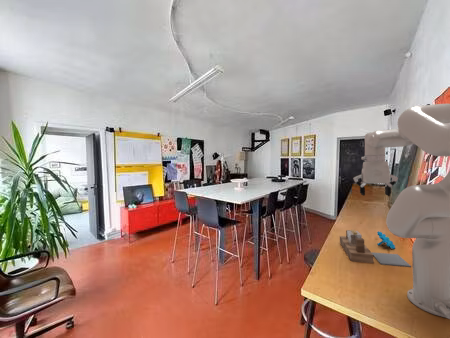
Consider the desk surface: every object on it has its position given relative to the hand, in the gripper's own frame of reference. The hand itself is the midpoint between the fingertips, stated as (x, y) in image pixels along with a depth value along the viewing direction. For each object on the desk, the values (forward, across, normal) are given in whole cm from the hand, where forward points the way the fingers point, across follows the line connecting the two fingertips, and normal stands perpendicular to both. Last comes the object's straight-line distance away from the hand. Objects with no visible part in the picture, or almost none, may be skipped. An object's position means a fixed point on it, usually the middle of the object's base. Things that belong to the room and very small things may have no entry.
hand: (375, 195), depth 94 cm
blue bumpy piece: (+32, +10, +15) cm, 36 cm away
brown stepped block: (+31, -7, +5) cm, 32 cm away
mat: (+31, +5, -1) cm, 31 cm away
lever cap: (+27, -7, +5) cm, 28 cm away
